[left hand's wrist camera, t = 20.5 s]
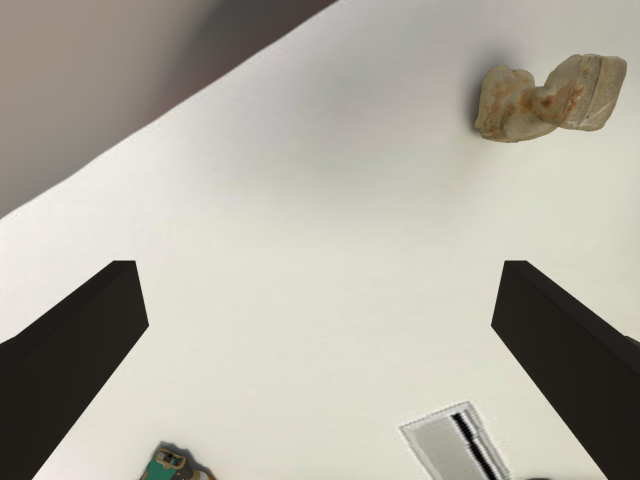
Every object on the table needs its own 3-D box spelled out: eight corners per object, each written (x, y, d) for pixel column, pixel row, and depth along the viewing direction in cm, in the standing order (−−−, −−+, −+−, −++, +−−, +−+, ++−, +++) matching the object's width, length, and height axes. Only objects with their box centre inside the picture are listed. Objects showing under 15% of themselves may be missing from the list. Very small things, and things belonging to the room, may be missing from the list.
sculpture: (532, 74, 37) (660, 57, 23) (507, 143, 40) (608, 165, 26) (479, 63, 37) (577, 39, 23) (457, 133, 39) (533, 150, 25)
